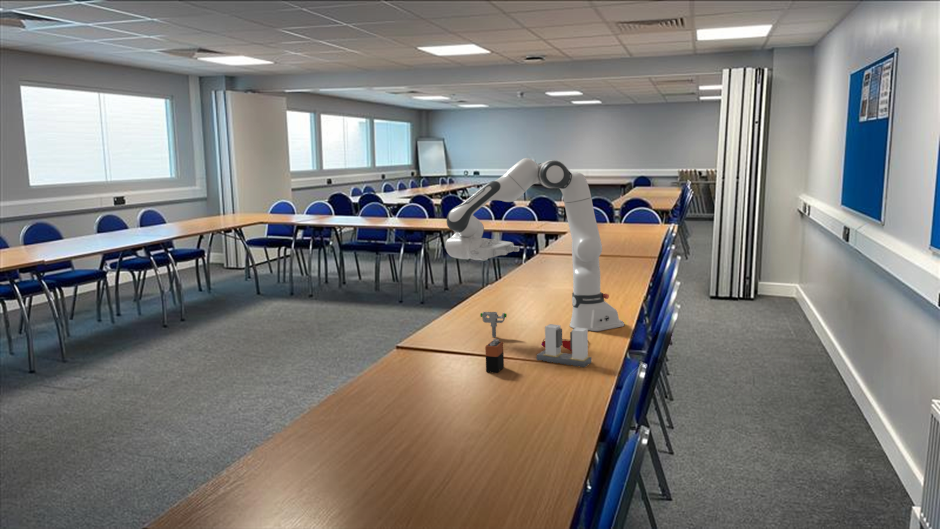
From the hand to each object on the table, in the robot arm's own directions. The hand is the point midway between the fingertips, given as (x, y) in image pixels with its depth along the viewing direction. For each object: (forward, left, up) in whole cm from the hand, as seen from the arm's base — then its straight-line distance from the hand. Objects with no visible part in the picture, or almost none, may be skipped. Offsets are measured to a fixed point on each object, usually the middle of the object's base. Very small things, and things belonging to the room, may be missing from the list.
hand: (512, 250), depth 252 cm
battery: (+20, +32, -35) cm, 52 cm away
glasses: (-14, +16, -36) cm, 41 cm away
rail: (-5, +33, -35) cm, 49 cm away
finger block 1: (-3, +30, -33) cm, 45 cm away
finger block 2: (-9, +38, -33) cm, 51 cm away
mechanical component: (+7, -6, -35) cm, 36 cm away
